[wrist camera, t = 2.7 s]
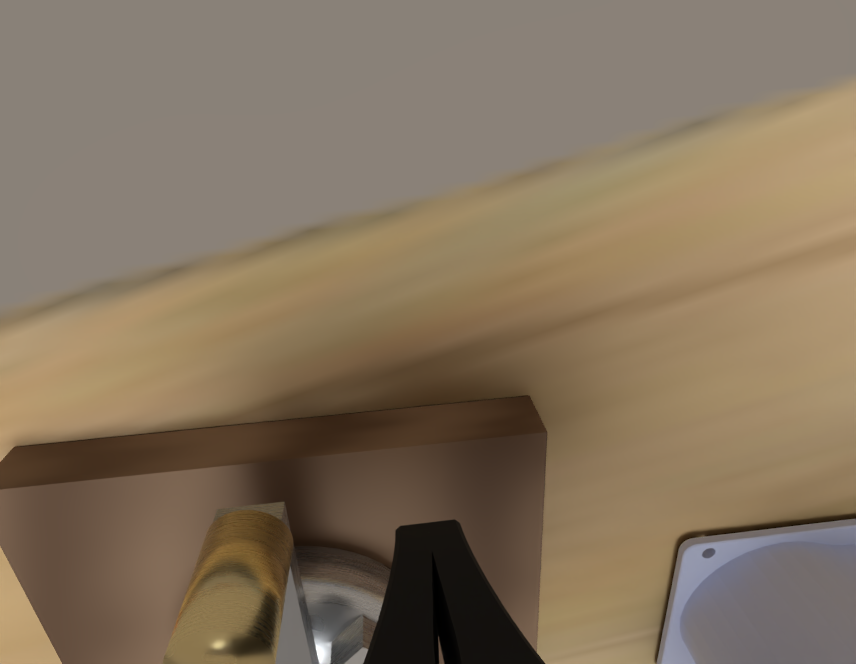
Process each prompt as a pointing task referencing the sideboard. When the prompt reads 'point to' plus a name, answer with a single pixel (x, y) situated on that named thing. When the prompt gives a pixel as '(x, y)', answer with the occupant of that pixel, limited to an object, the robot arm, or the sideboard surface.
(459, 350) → the sideboard surface
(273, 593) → the grey crank wheel
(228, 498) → the base plate
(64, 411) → the sideboard surface
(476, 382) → the sideboard surface
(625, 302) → the sideboard surface
